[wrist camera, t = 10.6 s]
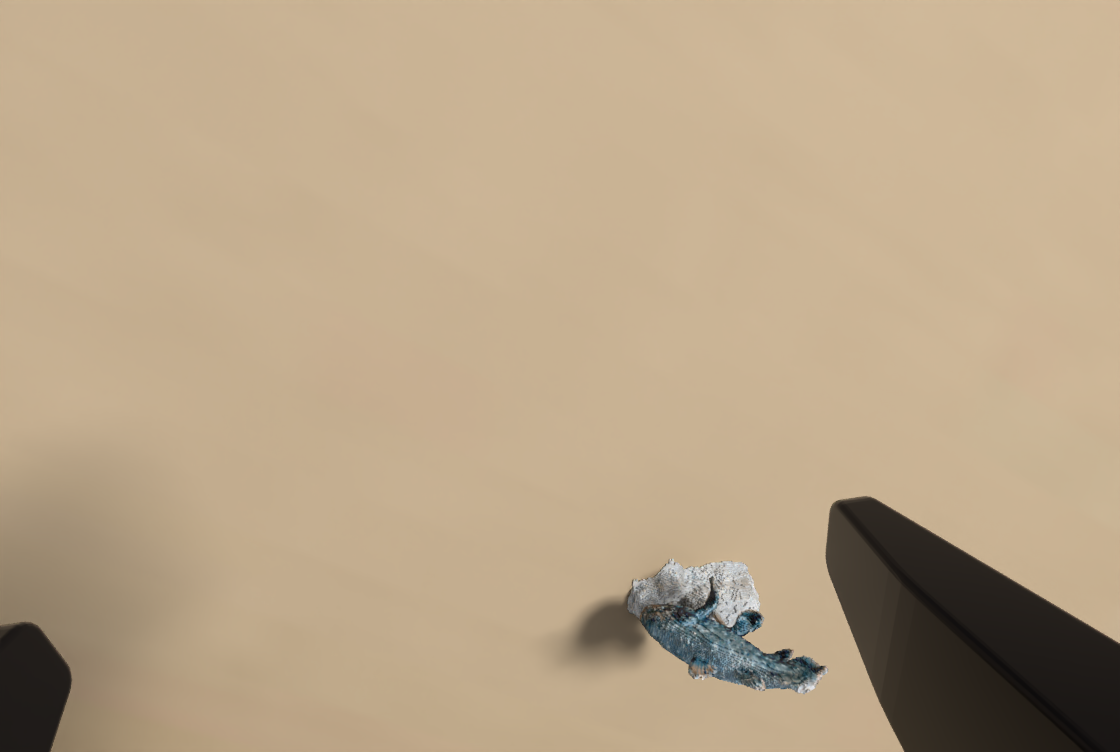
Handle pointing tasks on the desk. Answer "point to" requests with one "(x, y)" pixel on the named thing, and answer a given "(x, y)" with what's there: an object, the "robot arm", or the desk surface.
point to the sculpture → (716, 626)
